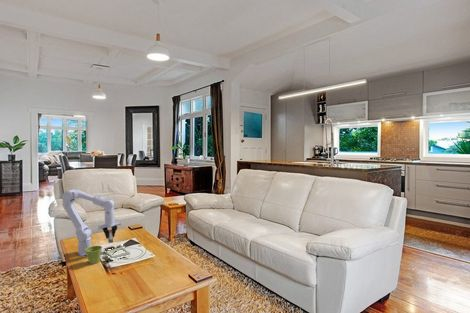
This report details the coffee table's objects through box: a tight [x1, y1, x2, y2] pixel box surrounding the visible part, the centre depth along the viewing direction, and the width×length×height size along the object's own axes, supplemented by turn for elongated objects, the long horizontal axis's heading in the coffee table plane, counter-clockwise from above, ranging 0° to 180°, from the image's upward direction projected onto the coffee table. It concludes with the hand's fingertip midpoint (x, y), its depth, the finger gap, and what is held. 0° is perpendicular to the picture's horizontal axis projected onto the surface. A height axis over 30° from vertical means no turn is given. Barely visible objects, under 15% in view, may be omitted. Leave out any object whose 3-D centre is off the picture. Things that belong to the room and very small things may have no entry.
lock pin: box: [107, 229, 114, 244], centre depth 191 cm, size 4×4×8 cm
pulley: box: [115, 244, 127, 248], centre depth 196 cm, size 6×6×3 cm
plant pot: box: [85, 245, 103, 265], centre depth 175 cm, size 9×9×9 cm
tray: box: [106, 247, 131, 258], centre depth 184 cm, size 11×11×3 cm
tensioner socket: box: [103, 245, 117, 252], centre depth 191 cm, size 6×6×2 cm
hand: (110, 237), depth 191 cm, fingers closed on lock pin, 3 cm apart
